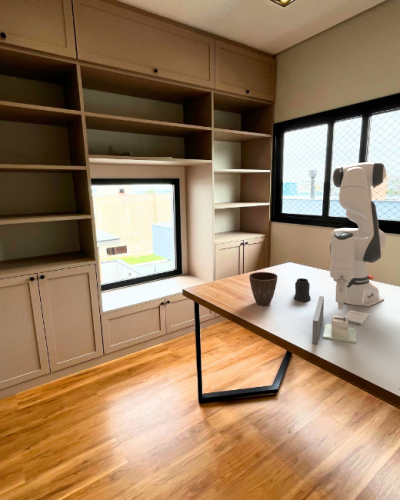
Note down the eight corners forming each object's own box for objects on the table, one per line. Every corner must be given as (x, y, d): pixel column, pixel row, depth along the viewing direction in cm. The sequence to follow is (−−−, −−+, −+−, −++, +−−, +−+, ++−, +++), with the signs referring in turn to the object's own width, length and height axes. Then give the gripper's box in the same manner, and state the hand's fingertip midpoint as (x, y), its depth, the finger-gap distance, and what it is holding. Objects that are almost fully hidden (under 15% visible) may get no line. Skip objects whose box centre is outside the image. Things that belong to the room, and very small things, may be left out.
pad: (325, 325, 130) (325, 323, 130) (355, 329, 125) (355, 328, 125) (322, 338, 120) (323, 336, 120) (355, 343, 114) (355, 341, 114)
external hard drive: (341, 321, 134) (349, 312, 143) (361, 326, 128) (368, 316, 137) (341, 318, 134) (350, 309, 142) (361, 323, 128) (368, 313, 137)
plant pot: (277, 299, 164) (277, 272, 160) (277, 310, 150) (277, 280, 146) (251, 298, 168) (250, 271, 164) (248, 308, 154) (247, 279, 150)
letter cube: (332, 327, 126) (332, 314, 125) (347, 330, 123) (348, 316, 122) (331, 334, 121) (331, 320, 120) (347, 336, 118) (348, 322, 117)
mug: (313, 301, 157) (313, 282, 155) (296, 302, 158) (296, 282, 155) (306, 293, 169) (306, 275, 167) (290, 294, 169) (290, 276, 167)
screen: (318, 315, 140) (319, 296, 138) (323, 316, 140) (323, 296, 138) (312, 343, 116) (312, 320, 114) (317, 344, 115) (318, 321, 113)
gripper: (350, 281, 107) (349, 316, 110) (350, 265, 124) (349, 296, 127) (332, 280, 109) (331, 313, 113) (334, 265, 127) (333, 294, 130)
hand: (341, 304), depth 120 cm, fingers open, 8 cm apart
